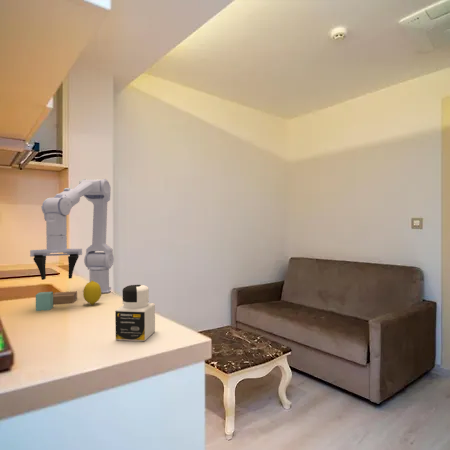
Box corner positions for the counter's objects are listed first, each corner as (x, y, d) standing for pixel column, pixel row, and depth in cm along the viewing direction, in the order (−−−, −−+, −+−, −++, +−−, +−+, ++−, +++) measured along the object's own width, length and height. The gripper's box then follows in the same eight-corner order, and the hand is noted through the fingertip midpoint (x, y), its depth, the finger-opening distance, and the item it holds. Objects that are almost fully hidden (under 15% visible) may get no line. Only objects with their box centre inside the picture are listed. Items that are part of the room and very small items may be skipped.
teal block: (39, 307, 106) (39, 292, 106) (53, 307, 108) (52, 291, 107) (35, 311, 103) (35, 295, 103) (50, 310, 104) (49, 294, 104)
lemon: (97, 306, 107) (97, 282, 107) (80, 306, 107) (80, 282, 107) (103, 302, 113) (103, 279, 113) (87, 302, 113) (87, 279, 113)
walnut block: (55, 300, 117) (55, 292, 117) (77, 299, 119) (76, 291, 119) (50, 305, 110) (50, 296, 110) (73, 304, 112) (73, 295, 112)
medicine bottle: (115, 340, 76) (114, 288, 76) (128, 330, 83) (127, 282, 83) (144, 341, 75) (144, 289, 75) (155, 331, 82) (155, 283, 82)
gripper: (26, 236, 99) (27, 282, 99) (79, 235, 103) (80, 279, 103) (33, 235, 105) (34, 278, 106) (82, 234, 109) (83, 276, 110)
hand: (57, 278), depth 105 cm, fingers open, 7 cm apart
